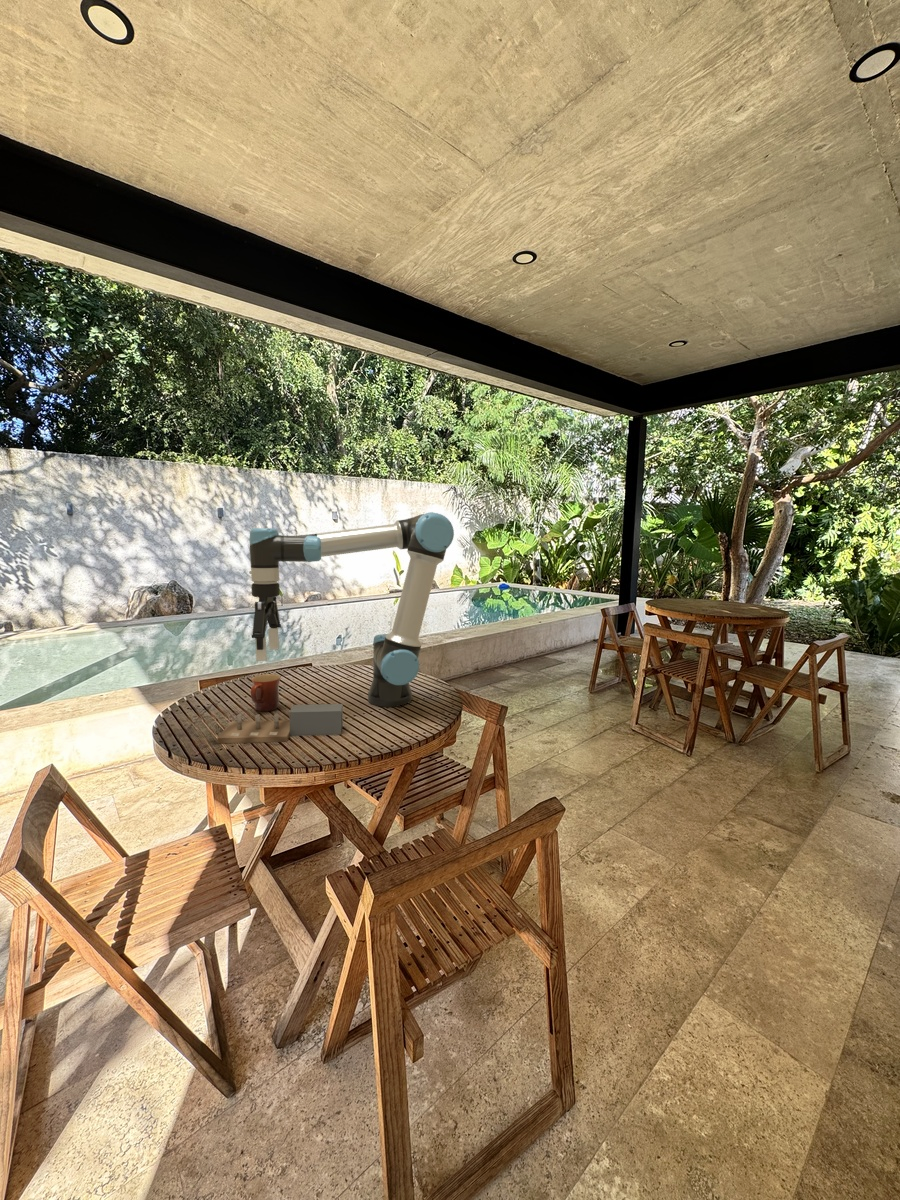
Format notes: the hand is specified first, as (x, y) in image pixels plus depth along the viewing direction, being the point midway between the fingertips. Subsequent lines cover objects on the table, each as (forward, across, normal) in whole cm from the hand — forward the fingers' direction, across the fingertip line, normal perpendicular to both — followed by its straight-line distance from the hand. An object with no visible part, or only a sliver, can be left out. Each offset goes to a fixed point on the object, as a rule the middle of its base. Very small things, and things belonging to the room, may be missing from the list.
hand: (268, 654), depth 143 cm
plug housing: (+21, +6, +15) cm, 27 cm away
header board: (+21, +8, -1) cm, 22 cm away
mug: (+21, -11, -5) cm, 24 cm away
